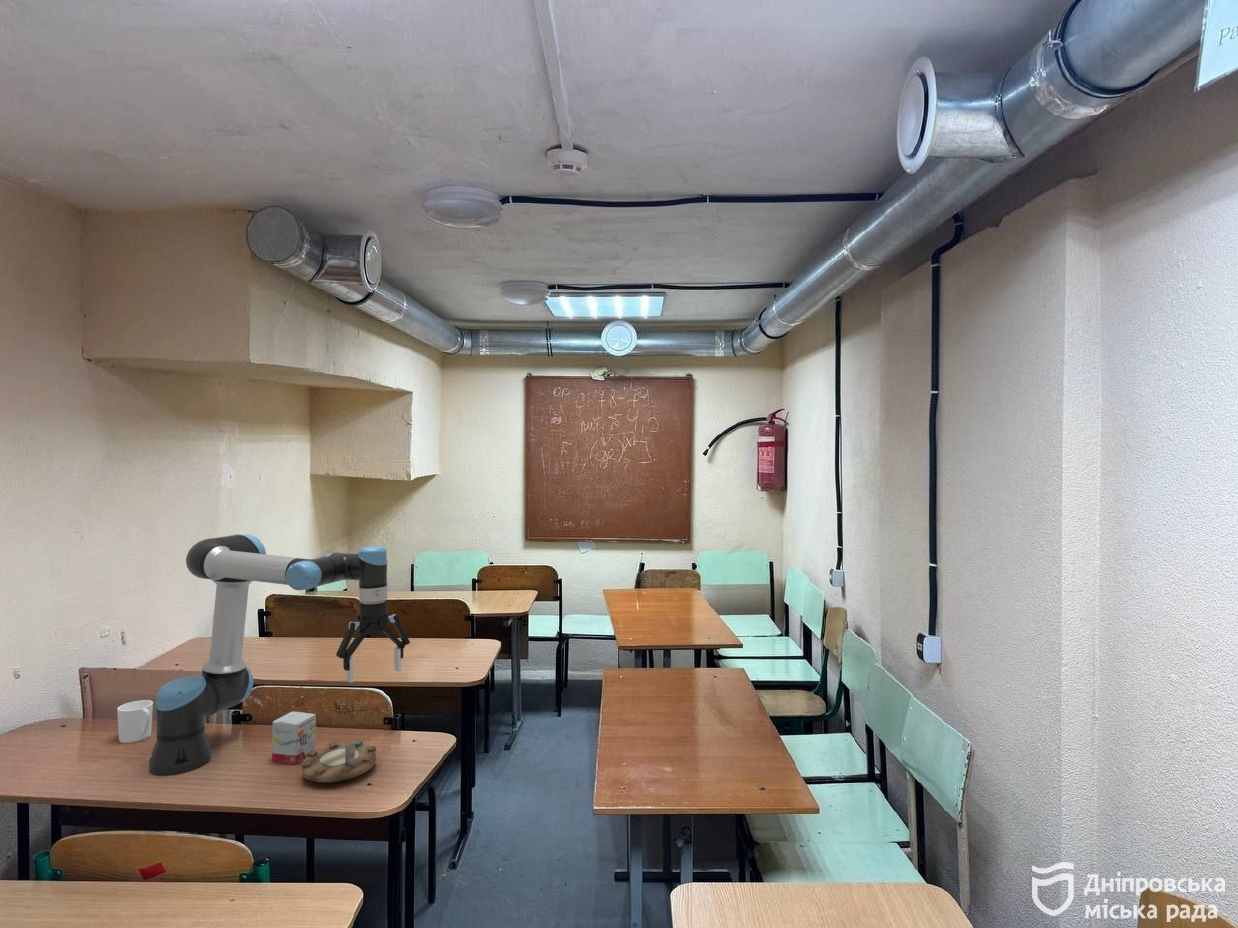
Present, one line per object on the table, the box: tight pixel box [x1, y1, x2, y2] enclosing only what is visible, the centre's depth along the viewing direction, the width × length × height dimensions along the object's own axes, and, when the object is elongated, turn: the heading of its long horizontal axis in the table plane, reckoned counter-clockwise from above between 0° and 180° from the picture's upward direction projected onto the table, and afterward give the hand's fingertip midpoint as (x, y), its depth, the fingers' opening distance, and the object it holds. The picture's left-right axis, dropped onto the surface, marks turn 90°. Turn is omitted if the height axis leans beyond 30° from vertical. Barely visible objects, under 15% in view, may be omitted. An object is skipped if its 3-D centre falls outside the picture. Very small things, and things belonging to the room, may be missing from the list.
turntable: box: [300, 740, 377, 783], centre depth 181 cm, size 19×19×8 cm
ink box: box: [271, 711, 317, 765], centre depth 190 cm, size 9×9×12 cm
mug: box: [116, 699, 154, 745], centre depth 201 cm, size 11×9×10 cm
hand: (374, 675), depth 184 cm, fingers open, 13 cm apart
